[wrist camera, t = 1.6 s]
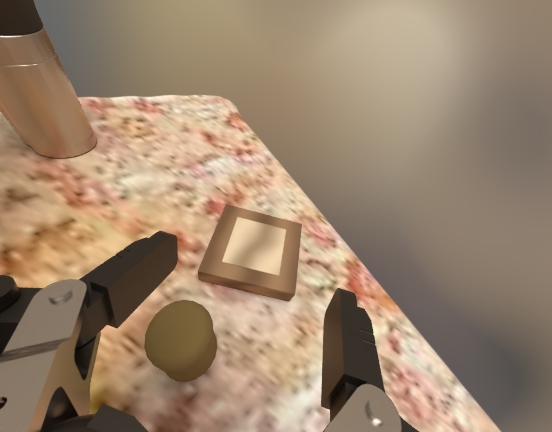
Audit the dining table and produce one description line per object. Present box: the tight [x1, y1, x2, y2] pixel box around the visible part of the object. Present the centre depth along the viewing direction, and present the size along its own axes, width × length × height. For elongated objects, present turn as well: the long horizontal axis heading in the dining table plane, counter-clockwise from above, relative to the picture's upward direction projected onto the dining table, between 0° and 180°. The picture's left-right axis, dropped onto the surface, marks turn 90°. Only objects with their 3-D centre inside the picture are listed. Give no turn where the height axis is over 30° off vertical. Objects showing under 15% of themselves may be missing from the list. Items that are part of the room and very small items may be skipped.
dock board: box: [198, 204, 302, 301], centre depth 33 cm, size 13×12×3 cm
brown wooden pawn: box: [144, 300, 217, 382], centre depth 21 cm, size 6×6×11 cm
